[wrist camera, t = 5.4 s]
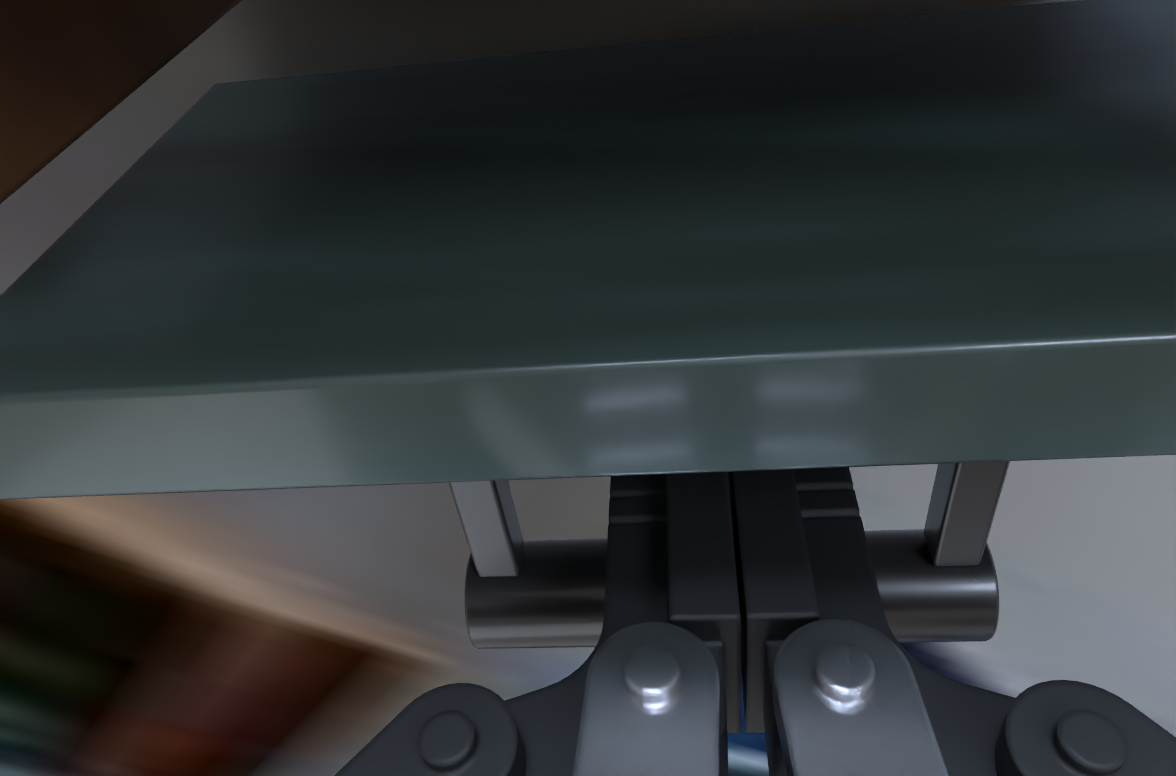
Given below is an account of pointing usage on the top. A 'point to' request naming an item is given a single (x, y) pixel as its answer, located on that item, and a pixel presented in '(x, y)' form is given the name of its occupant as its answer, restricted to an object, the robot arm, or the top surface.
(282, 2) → the top surface
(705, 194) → the drawer
